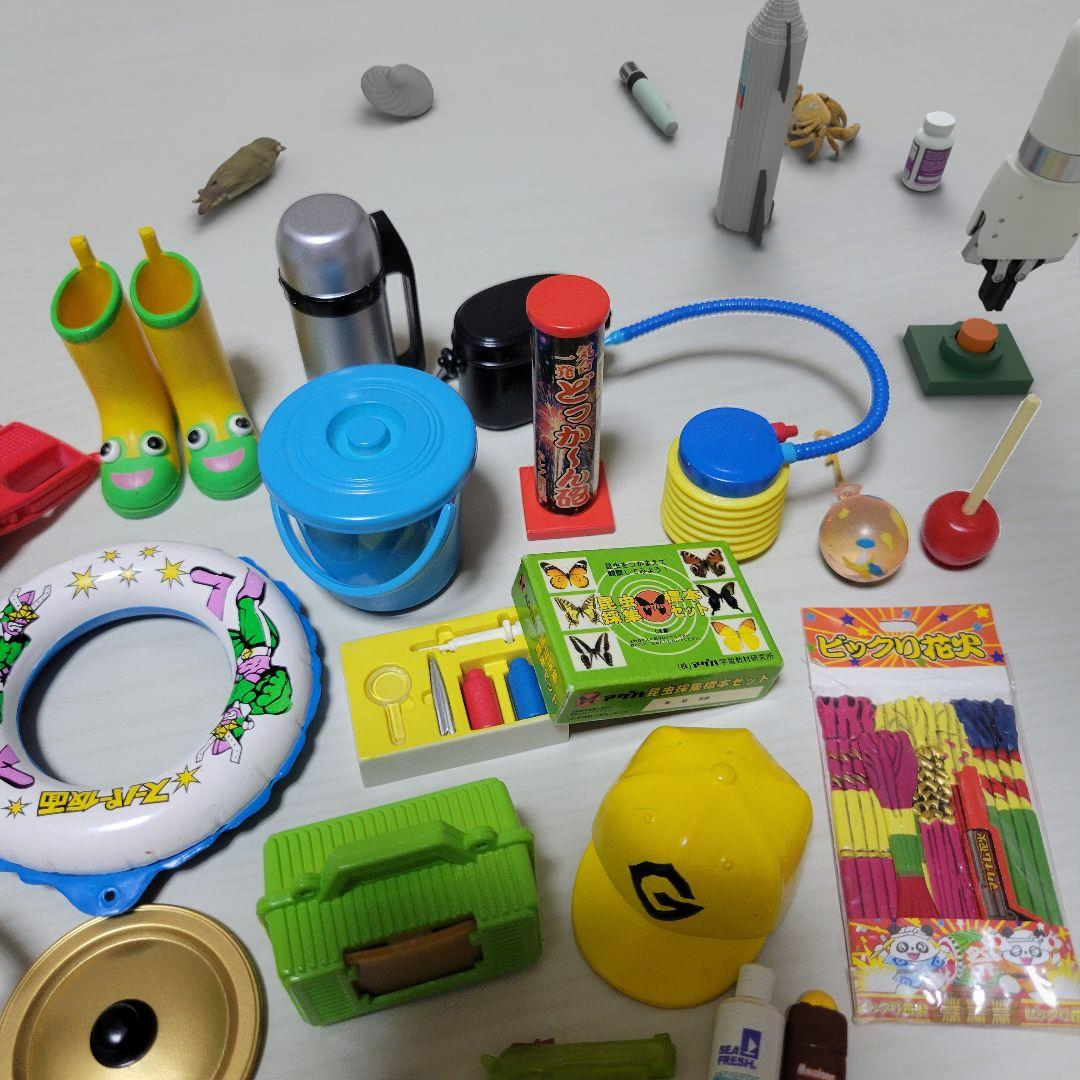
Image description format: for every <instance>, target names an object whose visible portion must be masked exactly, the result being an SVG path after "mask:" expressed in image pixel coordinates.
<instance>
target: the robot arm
mask: <svg viewBox="0 0 1080 1080" xmlns="http://www.w3.org/2000/svg"><path fill="white" fill-rule="evenodd" d="M965 233H966V235H967V237H971V238H970V239H969V241H968V242H967V243H966V245H965V246H964V248H963V249H962V250H961V253H960V254H961V257H962V258H963V261H964V262H965V263H968V264H972V265H976V266H982V267H983V268H984V270H985V271H986V272H985V275H984V277H983V280H982V282H981V283H980V286H979V288H978V291H977V296H978V299H979V300H980V301H981V303H982V306H983V308H984V310H985V311H986V312H987V313H988V312H993V311H995V312H1002V311H1003V310H1004V308H1005V305H1006V303H1007V302H1008V301H1009V300H1010V299H1011V297H1012V295H1013V293H1014V291H1015V289H1016V287H1017V285H1018V283H1021V282H1023V281H1024V280H1026V278H1028V276H1029V274H1030V273H1031V272H1033V271H1034V270H1037V269H1038V268H1040V267H1042V266H1043V265H1049V264H1053V263H1059V262H1062V261H1063V260H1064V259H1065V258H1066V255H1067V254H1069V252H1071V250H1072V249H1073V248H1074V246H1075V245H1076V243H1077V241H1078V239H1079V237H1080V18H1079V19H1078V20H1077V21H1076V22H1075V23H1074V25H1073V26H1072V28H1071V30H1070V31H1069V33H1068V35H1067V37H1066V40H1065V42H1064V45H1063V46H1062V49H1061V52H1060V54H1059V56H1058V59H1057V60H1056V63H1055V65H1054V68H1053V70H1052V72H1051V74H1050V77H1049V79H1048V81H1047V83H1046V86H1045V88H1044V90H1043V93H1042V95H1041V97H1040V99H1039V102H1038V104H1037V106H1036V109H1035V111H1034V114H1033V116H1032V118H1031V121H1030V123H1029V125H1028V127H1027V129H1026V133H1025V135H1024V137H1023V139H1022V141H1021V144H1020V146H1019V148H1018V150H1017V151H1016V152H1009V153H1008V155H1007V156H1005V158H1004V159H1003V161H1002V162H1001V163H1000V165H999V166H998V168H997V169H996V171H995V172H994V173H993V175H992V177H991V179H990V180H989V182H988V183H987V185H986V186H985V189H984V191H983V192H982V194H981V196H980V198H979V200H978V202H977V204H976V205H975V208H974V210H973V212H972V214H971V216H970V218H969V221H968V223H967V226H966V229H965Z"/></svg>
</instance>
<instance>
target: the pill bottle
mask: <svg viewBox="0 0 1080 1080" xmlns="http://www.w3.org/2000/svg"><path fill="white" fill-rule="evenodd" d="M955 126H956V118H955V116H953V115H952V114H951V113H948V112H945V111H939V110H938V111H931V112H928V113H927V114H926V115H925V119H924V120H923V123H922V126H921V127H920V128H918V130H916V132H915V133H914V136H913V140H912V142H911V146H910V149H909V153H908V156H907V159H906V162H905V164H904V167H903V171H902V175H901V180H902V183H903V184H904V185H905V186H906V187H907V188H908V189H910V190H913V191H916V192H930V191H933V190H935V189H936V188H938V187H939V186H940V184H941V181H942V178H943V175H944V172H945V169H946V166H947V163H948V160H949V158H950V155H951V152H952V149H953V146H954V143H955V135H954V134H953V131H954V128H955Z"/></svg>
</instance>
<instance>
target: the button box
mask: <svg viewBox="0 0 1080 1080" xmlns="http://www.w3.org/2000/svg"><path fill="white" fill-rule="evenodd" d="M965 321H966V320H958V321H956V322H954V323H953V324H909V325H908V326H907V328H906V330H905V334H904V336H903V342H904V346H905V348H906V350H907V352H908V356H909V358H910V360H911V363H912V366H913V369H914V372H915V374H916V376H917V380H918V382H919V385H920V387H921V391H922V392H923V395H924V396H928V397H929V396H930V397H931V396H932V397H933V396H985V395H986V396H988V395H989V396H990V395H1027V394H1028V392H1029V391H1030V389H1031V387H1032V385H1034V382H1035V379H1034V377H1033V375H1032V373H1031V371H1030V368H1029V367H1028V364H1027V362H1026V360H1025V358H1024V356H1023V354H1022V352H1021V350H1020V348H1019V346H1018V344H1017V341H1016V340H1015V338H1014V336H1013V334H1012V332H1011V329H1010V328H1009V326H1008V323H993V324H994V325H995V326H996V327H997V329H998V336H997V338H996V340H995V342H994V344H993V346H992V348H991V350H990V351H989V352H987V353H973V352H970V351H967V350H964V349H963V348H962V347H960V346H959V345H958V344H957V341H956V339H957V336H958V334H959V331H960V329H961V327H962V324H963V323H964V322H965Z"/></svg>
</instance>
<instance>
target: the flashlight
mask: <svg viewBox="0 0 1080 1080" xmlns="http://www.w3.org/2000/svg"><path fill="white" fill-rule="evenodd" d="M618 73H619V77H620V78H621V80H622V81H623V83H624V84H625V85H626V86H627V89H628V90H629V92H630V93H631V94H632V96H633V97H634V98H635V100H636V101H637V103H638V104H639V105H640V107H641V108H642V109H643V111H644V112H645V113H646V114H647V116H648V117H649V118H650V119H651V121H652V122H653V123H654V124H655V125H656V126H657V128H659V130H661V131H662V132H663V133H664V134H665V135H666V136H668V137H671V136H674V135H675V134H676V133H677V131H678V130H679V124H678V122H677V120H676V118H675V116H674V115H673V112H672V111H671V109H670V108H669V106H668V104H667V103H666V101H665V100H664V99H663V97H662V96H661V94H660V93H659V91H658V90H657V89H656V88H655V86H654V84H653V83H652V82H651V81H650V79H649V78H648V76H647V75H646V74H645V73H644V72H643V70H641V68H640V67H639V66H638V64H637V63H636V62H635V61H634V60H626V61H625V62H624V63H622V64H621V66H620V67H619V71H618Z"/></svg>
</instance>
